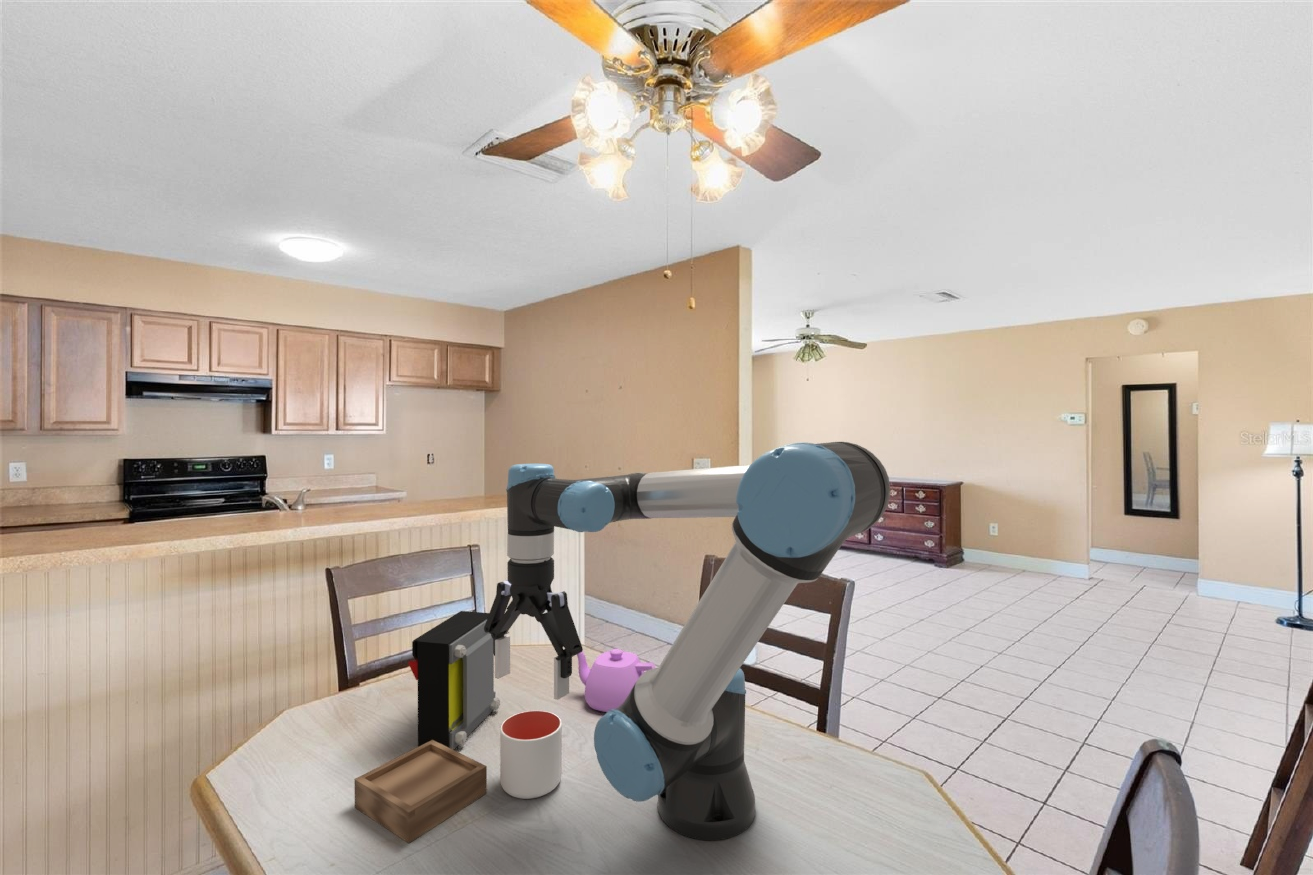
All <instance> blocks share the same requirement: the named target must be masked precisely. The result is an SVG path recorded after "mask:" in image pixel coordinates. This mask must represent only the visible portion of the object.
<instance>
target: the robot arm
mask: <svg viewBox="0 0 1313 875" xmlns="http://www.w3.org/2000/svg"><path fill="white" fill-rule="evenodd" d="M505 490H506V501H507V502H506V505H507V506H506V507H507V508H506V509H507V511H506V512H507V513H506V514H507V522H506V523H507V533H506V534H507V537H506V538H507V546H506V551H507V552H506V556H507V557H508V558H509V560H508V561H507V562H506V563H507V568H506V570H507V580H503V581H499V582H498V583H496V592H495V597H494V599H493V603H492V606H491V608H490V611H489V612H488V613H489V616H488V618H487V621H486V624H485V626H484V631H485V632H486V633H488V632H489V633H490V634H491V637H492V638H493V653H494V665H495V666H494V679H499V680H500V679H501V678H504V677H506V676H507V675H510V674H511V635H507V634H510V631H509V630H510V629H511V628H512V627H513V625H514V623H515V622H516V620H517V619H518V618H519V616H520V615H527V616H529V617H531V618H535V620H536V621H537V622H538V623H540V624H541V626H542V629H543V630H544V632H545V634H546V635H547V638H548V640H549V641H550V643H551V645H552V647H553V649H554V651H555V653H556V654H557V656H555V657H554V658H553V700H556V701H558V700H560V699H562V698H563V697H565V696H568V695H569V694H570V677H571V676H572V674H573V657H575V656H577V654H579V653H581V652H582V651H583V652H584V649H583V645H582V643H581V640H580V636H579V634H578V630H577V629H576V625H575V622H574V619H573V617H572V613H571V611H570V608H569V603H568V594H567V591H565V590H564V591H561V592H553V590H552V582H553V581H554V580H555V560H554V558H553V557H552V556H554V553H555V551H554V549H555V545H554V544H555V527H556V528H560V529H566V530H571V531H574V532H577V533H584V532H586V533H596V532H600V531H602V530H603V529H604V528H606V526H607V525H610V524H611V523H615V522H619V521H620V522H621V521H627V520H629V521H630V520H645V519H648V520H649V519H685V518H686V519H690V518H691V519H692V518H693V519H697V518H734V519H733V521H732V522H731V523H732V524H731V531H732V534H733V536H734V540H735V542H734V544H733V545H732V547H731V549H730V550H729V552H728V554H727V555H726V557H725V558H724V560H723V562H722V563H721V565H720V567H719V568H718V570H717V571H716V573H715V575H714V576H713V578H712V579H711V581H710V583H709V584H708V586H707V588H706V590H705V591H704V593H703V594H702V596H701V597H700V599H699V601H698V603H697V604H696V606H695V608H694V609H693V610H692V612H691V614H690V615H689V616H688V617H689V618H687V620H686V621H685V624H684V625H683V627H682V628H681V630H680V632H679V634H678V635H677V637H676V638H675V640H674V641H673V642H672V645H671V647H670V648H669V650H668V652H667V653H666V655H665V656H664V658H663V660H661V662H660V664H659V666H658V667H655V668H654V669H650V670H647V671H644V673H643V674H642V675H641V676H640V677H639V678H638V680H637V682H636V683H635V685H634V686H633V688H632V690H631V691H630V693H629V695H628V696H627V698H626V699H625V701H624V702H623V703H622V704H621V705H620V706H619V707H618V708H616V709H612V710H610V711H608V712H605V714H604V715H603V716H601V717H600V718H599V719H598V721H597V722H596V725H595V728H594V731H593V744H594V745H593V746H594V750H595V753H596V759H597V762H598V764H599V767H600V769H601V771H602V773H603V775H604V777H605V778H606V780H607V781H608V783H609V784H610V785H611V786H612V787H613V788H614V789H615V791H616V792H618V793H619V794H620V795H621V796H623V797H624V798H626V799H629V800H632V801H634V802H636V803H637V802H640V803H641V802H645V801H648V800H650V799H652V798H653V797H655V796H657V811H658V814H659V816H660V818H661V820H662V821H663V822H664V823H665V824H666V825H667V826H668V827H669V828H670V829H672V830H673V831H674V832H677V833H678V834H681V835H682V836H686V837H689V838H692V839H696V840H704V841H719V840H725V839H730V838H733V837H736V836H737V835H740V834H741V833H743V832H744V831H746V830H747V829H748V828H749V827H750V826H751V824H752V823H753V821H754V819H755V816H756V815H755V814H756V797H755V796H756V795H755V792H754V789H753V786H752V781H751V778H750V775H749V772H748V769H747V766H746V763H745V736H746V735H745V733H746V732H745V727H746V726H745V725H746V722H745V721H746V694H747V689H746V680H745V674H744V673H745V672H744V671H743V669H742V668H741V667H742V666H743V665H744V663H745V661H746V660H747V658H748V657H749V656H750V654H751V653H752V651H753V649H754V648H755V647H756V645H757V643H759V641H760V640H761V638H762V637H763V635H764V634H765V632H766V631H767V629H768V627H769V626H770V625H771V623H772V622H773V621H774V619H775V617H776V616H777V614H778V613H779V612H780V610H781V609H782V608H783V606H784V604H785V602H786V601H787V600H788V599H789V597H790V596H791V594H792V593H793V591H794V589H796V587H797V585H798V584H802V583H803V584H805V583H806V584H807V583H813V582H815V581H817V580H818V579H819V578H820V577H821V575H822V574H823V572H824V571H825V570H826V568H827V567H828V565H829V563H830V562H831V561H832V559H833V558H834V557H835V555H836V554H837V552H838V551H839V550H840V548H841V547H842V545H844V542H846V540H847V539H849V538H852V537H854V536H856V535H858V534H861V533H864V532H865V531H868V530H869V529H870V528H871V527H873V526H874V525H875V524H877V523H878V521H880V520H881V518H882V517H883V515H884V513H885V512H886V510H887V508H888V505H889V502H890V499H891V484H890V478H889V475H888V472H887V470H886V468H885V466H884V465H883V463H882V462H881V460H880V459H879V458H878V457H877V456H876V455H875V454H874V453H873V452H871V451H870V450H868V448H865V447H863V446H861V445H858V444H857V443H852V442H848V441H833V442H821V443H819V442H818V443H812V442H793V443H788V444H785V445H783V446H779V447H776V448H774V449H771V450H768V451H766V452H764V453H763V454H761V455H760V456H759V457H757V458H756V459H755V460H754V461H753V462H752V463H750V464H741V465H729V466H717V467H706V468H693V469H682V470H670V471H655V472H649V473H648V472H647V473H644V472H634V473H629V474H622V475H614V476H604V477H592V478H581V479H564V478H562V479H561V478H556V475H555V469H554V466H553V465H551V464H548V463H518V464H513V465H511V466H510V467H509V469H508V471H507V486H506V489H505ZM511 598H512V600H511ZM510 600H511V601H510Z"/></svg>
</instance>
